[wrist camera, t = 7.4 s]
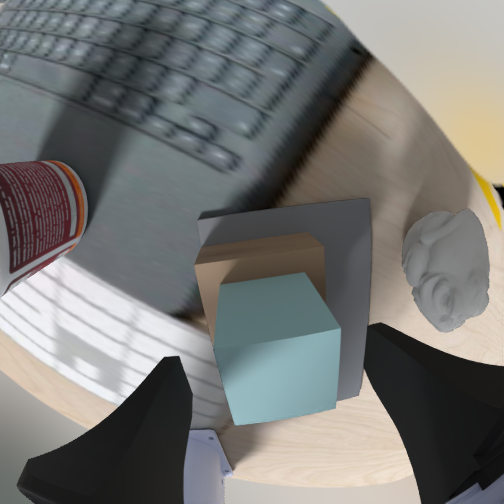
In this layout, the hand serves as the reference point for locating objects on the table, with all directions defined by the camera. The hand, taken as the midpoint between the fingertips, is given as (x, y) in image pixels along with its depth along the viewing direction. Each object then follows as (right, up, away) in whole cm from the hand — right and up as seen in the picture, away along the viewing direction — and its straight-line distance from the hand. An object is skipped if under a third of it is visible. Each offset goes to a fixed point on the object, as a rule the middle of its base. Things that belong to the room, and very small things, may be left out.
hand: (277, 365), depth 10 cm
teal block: (0, +1, +4) cm, 4 cm away
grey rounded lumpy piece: (+10, +5, +7) cm, 13 cm away
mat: (+2, -1, +8) cm, 8 cm away
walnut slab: (0, +2, +7) cm, 7 cm away
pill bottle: (-14, +7, +5) cm, 16 cm away
